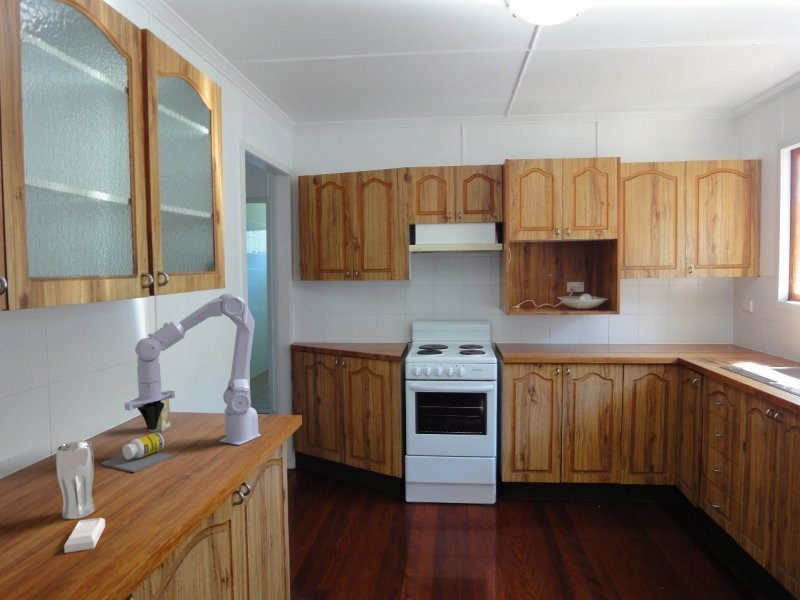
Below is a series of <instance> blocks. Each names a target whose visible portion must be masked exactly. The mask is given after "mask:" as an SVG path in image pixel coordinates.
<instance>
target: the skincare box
mask: <svg viewBox="0 0 800 600" xmlns="http://www.w3.org/2000/svg"><path fill="white" fill-rule="evenodd" d="M166 391H170V390H168V389H165V390H164V389H161V392H166ZM161 402H162V403H164V408H163V409H162V411H161V414H160V416H159V420H158V424H157V429H155V430H148V431H149V432H151V433H154V432H158V433H161V432H164V431H165V430H167V429H169V428H170V427H171V412H170V411H171V410H170V409H171V408H170V398H169V399H166V400H163V401H161Z"/></svg>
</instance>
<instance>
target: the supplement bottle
mask: <svg viewBox="0 0 800 600" xmlns="http://www.w3.org/2000/svg"><path fill="white" fill-rule="evenodd" d="M164 447H165V439H164V437H163V435H162V434H161V432H151V433H149V434H146V435H143V436H140V437H137V438H134V439H132V440H131V441H130V442H129V443H127V444H125V445H123V446H122V450H121V451H122V455H124V457H125V458H126V459H132V458H142V457H144V456H147V455H150V454H152V453H155V452H160V451H162V450H163V449H164Z"/></svg>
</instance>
